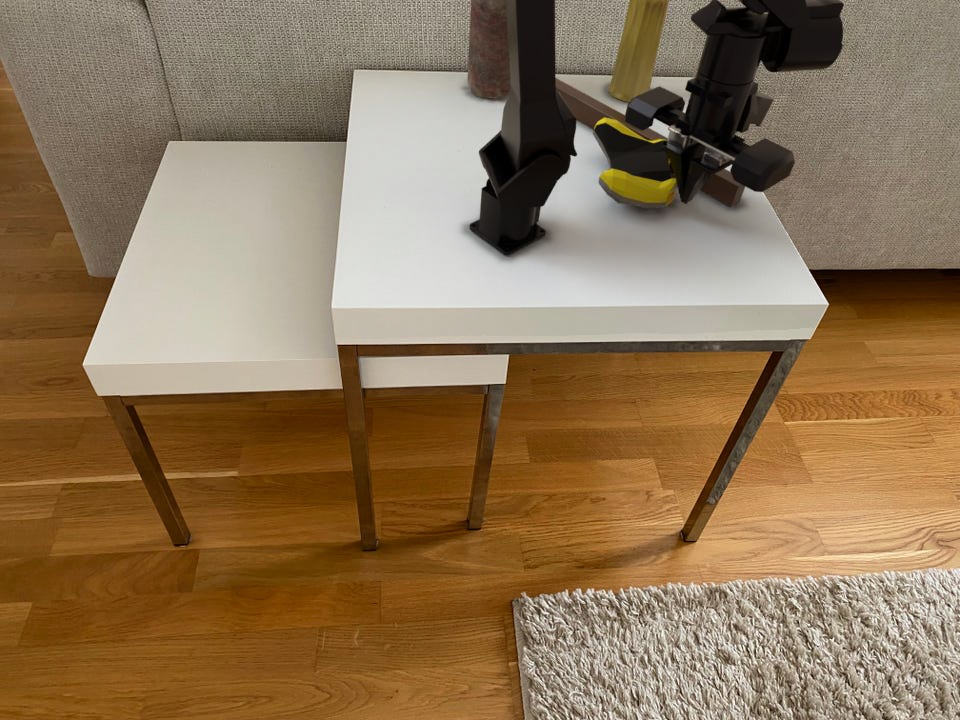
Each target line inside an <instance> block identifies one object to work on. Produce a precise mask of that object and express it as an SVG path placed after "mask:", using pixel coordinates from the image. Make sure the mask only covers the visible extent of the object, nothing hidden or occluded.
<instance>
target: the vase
mask: <svg viewBox="0 0 960 720" xmlns="http://www.w3.org/2000/svg"><path fill="white" fill-rule="evenodd" d="M669 3H670V0H629V3H628V7H627V10H626V16H625V20H624V25H623V30H622V33H621V36H620V37H621V38H620V40H619V41H620V42H619V45H618V49H617V54H616V58H615V62H614V68H613V73H612V76H611V80H610V83H609V86H608V92H609V94H610V95H611V96H612V97H613V98H615V99H617V100H620V101H623V102H628V103H629V102H630V101H631V99H632V98H634V97H636V96H638V95H640V94H643V93H645V92H647V91H650V90H651V84H652V81H653V74H654V69H655V63H656V60H657V56H658V51H659V46H660V43H661V37H662V34H663V29H664V25H665V20H666V18H667V17H666V16H667V13H668V7H669Z"/></svg>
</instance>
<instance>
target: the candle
mask: <svg viewBox="0 0 960 720" xmlns="http://www.w3.org/2000/svg"><path fill="white" fill-rule="evenodd" d="M469 18H470V19H469V37H468V57H467V58H468V59H467V85H468V87H469V90H470V92H471V93H472V95H474V96H476V97H479V98H488V99H489V98H490V99H496V98H498V97H500V96H504V95H509V93H510V89H511V77H510V59H509V42H508V24H507V6H506V0H470V15H469Z"/></svg>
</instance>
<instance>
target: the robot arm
mask: <svg viewBox="0 0 960 720" xmlns="http://www.w3.org/2000/svg"><path fill="white" fill-rule="evenodd" d="M737 1H738V2H739V3H740V4H742V5H743V6H725V5H724V4H722V3H721V2H720V1H719V0H710V2H709V3H708V4H706V5H705V6H703V7H701V8H700V9H698V10H697V11H696V12H693V14H691V16H690V21H691V22H692V23H693V24H694V25H695V26H696V27H698V28H699V30H701V32H703V34H705V35H706V38H705V42H704V45H703V49H702V53H701V56H700V59H699V63H698V67H697V70H696V74H695V77H693V78H691V79H688V80H687V81H686V85H685V89H684V90H685V92H688V93H690V95H689V99H688V101H687V106H686V101H685V99H684V98H683V96H680V95H679V94H677V93H675V92H673V91H670V90H669V89H666V88H664V87H662V86H660V85H659V86H656V87H655V88H652V89H650V91H647V92H645V93H643V94H640V95H638V96H636V97H634V98H632V99H631V101H630V102H628V104H627V105H626V110H625V113H624V115H625V122H627V123H629V124H630V125H632V126H634V127H636V128H638V129H640V130H642V131H643V130H645V129H647V128H650V127H652V126H653V125H654V120H657V121H658V122H660V123H662V124H664V125H666V126H668V128H667V129H668V136H667V138H668V139H667V141H665V142H663V144H662V148H663V149H664V150H666V151H667V153H668V156H669V159H670V162H671V165H672V168H673V171H674V174H675V175H674V177H675V178H676V183H677V191H678V196H679V201H680V202H681V203H682V204H683V205H687V204H689V203H690V202H692V200H693V199H694V198H695V197H696V196H697V194H698V193H699V192H700V191H701V190H700V189H701V188H702V187H703V185H704V184H705V183H706V182H707V180H708V179H709V178H710V177H711V176H712V175H713V174H716V173H718V172H719V171H721V170H723V169H726V168H729V167H730V166H731V167H730V169H729V171H730V172H731V174H732V177H733V179H734V181H736V182H738V183H740V184H742V185H743V186H745V188H747V189H749V190H751V191H753V192H755V193H756V192H757V193H763V192H765V191H767V190H768V189H770V188H772V187H773V186H775V185H776V184H778V183H781V182H782V181H784V180H785V179H787V178H788V177H790V176H791V172H792V170H793V168H794V166H795V163H796V162H795V161H796V160H795V156H794V152H793V151H792V150H790V149H788V148H787V147H785V146H782V145H780V144H778V143H777V142H774V141H772V140H770V139H768V138H765V137H764V138H762V139H761V140H758V141H757V142H755V143H752V144H751V145H749V144H747V143H746V141H747V140H746V139H744V138H743V137H741V136H739V135H737V134H736V133H740V134H743V133H745V132H747V131H749V129H750V126H751V125H755V126H756V127H758V128H759V127H761V125H762V123H763V121H764V119H765V117H766V116H767V114H768V113H769V110H770V108H771V106H772V104H773V103H774V101H775V98H773V97H771V96H769V95H767V94H765V93H763V92H760V91H758V90H759V83H758V82H756V81H755V78H756V75H757V72H758V70H759V67H760V64H762V65H763V67H764V68H765V69H766V71H767V72H770V73H787V72H801V71H819V70H826V69H828V68H830V67H831V66H832V65H834V63H835V62H836V61H837V59H838V58H839V56H840V54H841V52H842V50H843V46H844V44H843V38H844V25H843V21H842V17H841V14H842V11H843V9H844V7H845V4H844V2H842V1H841V0H737ZM506 6H507V24H508V42H509V59H510V77H511V89H510V93H509V94H508V96H507V97H506V101H505V103H504V106H503V111H502V117H501V118H502V119H501V127H500V131H499V132H498V133H496V134H495V135H494V136H493V137H492V138H491V139H490V140H489V141H487V142H486V143H485V145H484V146H482V147H481V148H479V150H478V155H479V159H480V162H481V164H482V168H483V169H484V170H485V172H486V175H487V177H488V178H487V179H486V182H485V186H483V187H481V190H480V208H479V219H477V220H475V221H473V222H471V223H469V228H468V229H469V230H470V231H471V232H473V233H474V234H475V235H476V236H478V237H479V238H480V239H482V240H483V241H484V242H486V243H487V244H489V245H490V246H491V247H492V248H494V249H495V250H497V251H498V252H499V253H500V254H502V255H504V256H510V255H513V254H515V253H516V252H518V251H520V250H522V249H523V248H525V247H527V246H530V245H531V244H533V243H535V242H537V241H539V240H540V239H542V238H544V237H546V236H547V230H546V229H545V228H544V227H542V226H541V225H539V224H538V223H539V221H540V215H541V209H542V207H544V206H545V204H546V203H547V201H548V199H549V197H550V196H551V194H552V192H553V190H554V188H555V187H556V184H557V183H558V181H559V180H560V179H561V178H562V177H563V176H564V175H566V174H568V171H569V170H570V166H571V161H572V157H574V158H575V157H577V156H578V153H577V150H576V148H575V137H576V132H577V120H576V118H575V116H574V114H573V113H572V111H571V110H570V108H569V107H568V105H567V103H566V102H565V100H564V99H563V97H562V96H561V94H560V92H559V91H556V78H557V77H556V73H557V72H556V71H557V70H556V69H557V68H556V0H506ZM761 62H762V63H761ZM685 106H686V109H685ZM684 109H685V112H684ZM571 156H572V157H571Z"/></svg>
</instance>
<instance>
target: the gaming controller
mask: <svg viewBox="0 0 960 720" xmlns="http://www.w3.org/2000/svg"><path fill="white" fill-rule="evenodd" d="M592 135H593V137H594V138H595V141H596V143H597V144H598V146H599V148H600V149H601V151H602V153H603V155H604V157H605V158H606V161H607V163H608V165H609V169H607V170H605V171H603V172H601V174H600V175H599V177H598V185H599V186H600V187H601V189H602V190H603V191H604V192H605V194H606V195H607V197H610V199H612V200H614V201H615V202H616V203H617V204H620V205H621V204H622V205H627V206H635V207H640V208H641V209H644V210H647V211H652V210H657V209H658V208H665V207H667V206H668V205H670V204H671V203H672V202H673V200H674V198H675V195H676V192H677V189H678V187H677V183H676V178H675V176H672V174H671V172H670V168H669V165H670V159H669V158H668V153H667V151H666V150H664V149H663V148H662V144H663V142H665V141H667V140H664V139H658V140H654V141H647V140H646V139H644V138H643V137H641V136H639V135H638V134H636V133H634V132H633V131H631V130H630V129H628V128H627V127H626V126H624V125H623V124H621V123H620V122H618V121H617V120H613V119H609V118H603V119H601V120H599V121H598V122H597V123H596V125H595V127H594V130H593V132H592Z"/></svg>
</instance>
